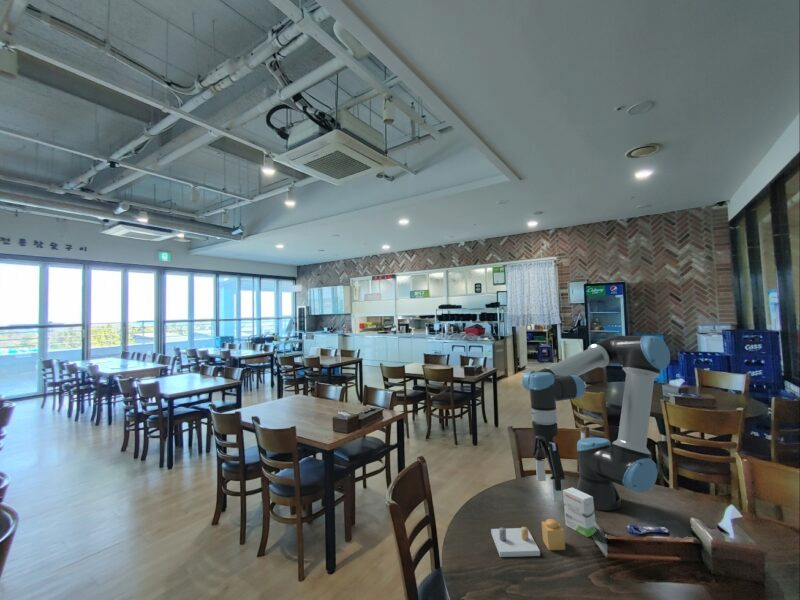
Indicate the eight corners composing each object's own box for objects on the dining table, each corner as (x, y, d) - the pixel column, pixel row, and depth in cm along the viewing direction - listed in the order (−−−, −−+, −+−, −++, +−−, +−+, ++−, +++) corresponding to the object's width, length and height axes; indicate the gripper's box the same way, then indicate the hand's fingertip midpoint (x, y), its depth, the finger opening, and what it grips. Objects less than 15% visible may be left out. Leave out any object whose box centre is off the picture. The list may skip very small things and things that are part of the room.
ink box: (597, 533, 117) (594, 496, 118) (587, 538, 115) (584, 500, 116) (574, 521, 125) (571, 486, 126) (564, 525, 123) (561, 489, 124)
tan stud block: (558, 539, 115) (556, 517, 115) (565, 549, 110) (563, 526, 110) (542, 540, 115) (541, 517, 115) (548, 550, 110) (547, 526, 110)
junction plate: (527, 532, 120) (526, 517, 120) (540, 555, 108) (539, 539, 108) (491, 533, 120) (490, 519, 120) (500, 557, 108) (499, 540, 108)
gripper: (520, 412, 127) (524, 473, 126) (547, 433, 103) (552, 510, 101) (542, 411, 127) (546, 473, 126) (573, 433, 102) (579, 509, 101)
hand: (549, 490), depth 113 cm, fingers open, 13 cm apart
